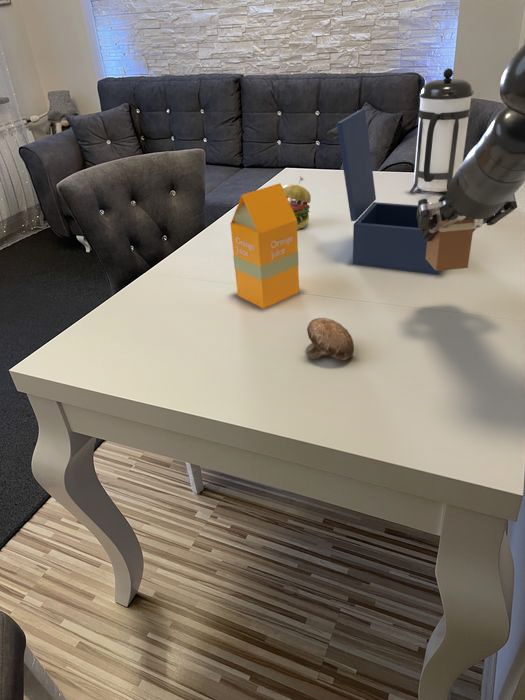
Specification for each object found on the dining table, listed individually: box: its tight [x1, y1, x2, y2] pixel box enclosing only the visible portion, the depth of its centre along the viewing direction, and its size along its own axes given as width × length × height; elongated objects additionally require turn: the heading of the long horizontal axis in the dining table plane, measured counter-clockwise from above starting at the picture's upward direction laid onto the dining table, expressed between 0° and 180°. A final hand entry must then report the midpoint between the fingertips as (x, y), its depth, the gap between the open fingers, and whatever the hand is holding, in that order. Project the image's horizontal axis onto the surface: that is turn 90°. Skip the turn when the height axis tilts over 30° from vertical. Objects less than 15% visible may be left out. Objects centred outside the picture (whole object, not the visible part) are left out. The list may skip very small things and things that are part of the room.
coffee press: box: [409, 68, 474, 195], centre depth 137 cm, size 17×16×30 cm
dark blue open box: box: [352, 201, 442, 276], centre depth 108 cm, size 17×14×9 cm
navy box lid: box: [326, 108, 377, 222], centre depth 105 cm, size 18×14×5 cm
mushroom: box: [306, 317, 355, 361], centre depth 80 cm, size 8×8×6 cm
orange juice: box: [230, 183, 300, 309], centre depth 94 cm, size 8×9×20 cm
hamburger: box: [282, 175, 312, 231], centre depth 126 cm, size 8×7×12 cm
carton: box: [426, 218, 474, 272], centre depth 83 cm, size 5×5×8 cm
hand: (444, 233), depth 84 cm, fingers closed on carton, 5 cm apart
